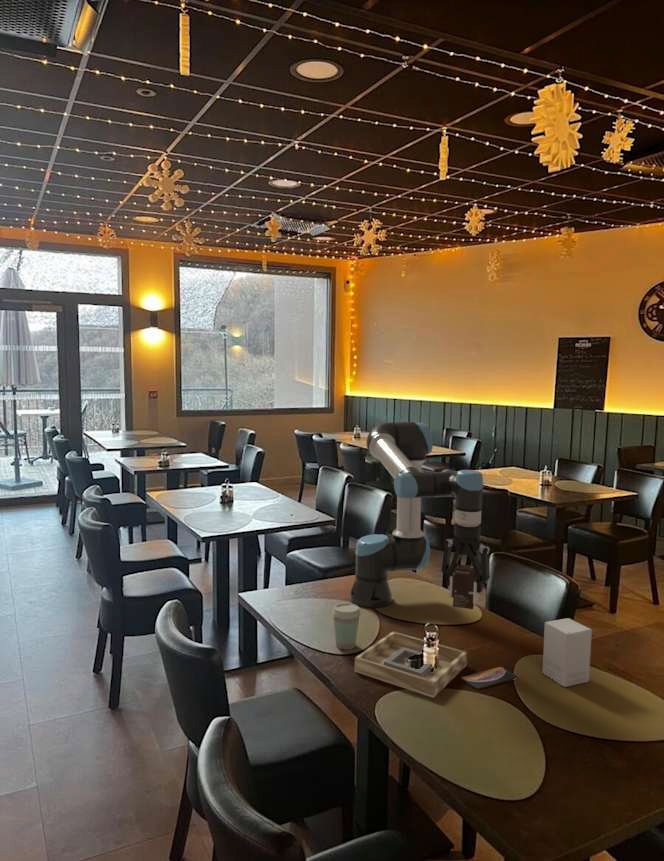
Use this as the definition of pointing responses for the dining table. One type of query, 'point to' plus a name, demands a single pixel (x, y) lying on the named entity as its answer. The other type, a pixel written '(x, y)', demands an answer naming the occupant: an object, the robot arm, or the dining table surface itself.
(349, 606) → the coffee cup
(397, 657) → the slate socket
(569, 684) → the supplement box
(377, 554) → the robot arm
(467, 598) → the box
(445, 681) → the birch tray
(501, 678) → the smartphone
